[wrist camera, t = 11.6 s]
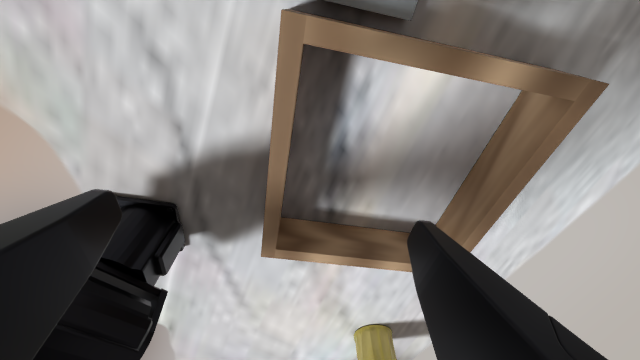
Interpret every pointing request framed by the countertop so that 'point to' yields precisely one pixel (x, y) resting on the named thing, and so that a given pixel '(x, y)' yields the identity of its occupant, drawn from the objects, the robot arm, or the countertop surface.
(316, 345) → the countertop surface
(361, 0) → the slate tile
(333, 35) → the wooden square frame
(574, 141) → the countertop surface
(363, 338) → the vase
